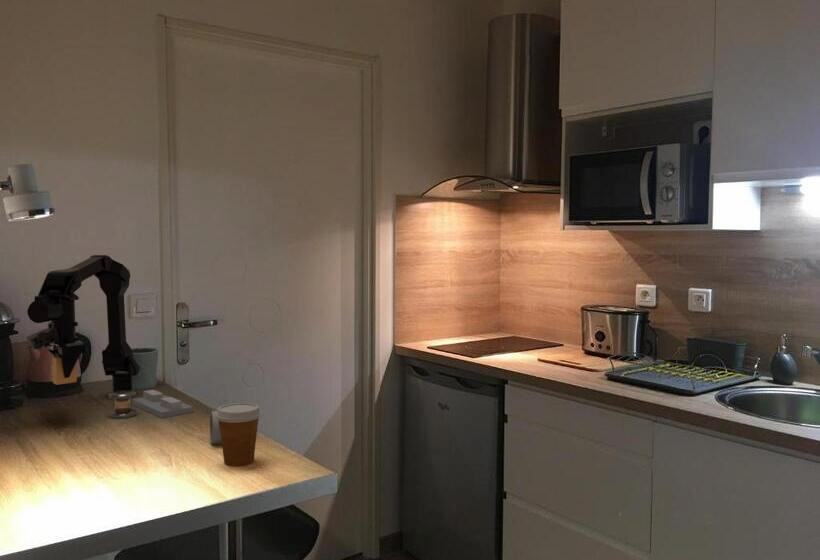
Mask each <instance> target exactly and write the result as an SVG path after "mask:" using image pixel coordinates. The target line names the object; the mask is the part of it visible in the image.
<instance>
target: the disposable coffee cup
mask: <svg viewBox="0 0 820 560" xmlns="http://www.w3.org/2000/svg"><path fill="white" fill-rule="evenodd" d="M217 411H218V412H217V413H216V417H217V419H218V421H219V429H220V435H221V443H220V444H221V448H222V454H223V455H222V456H223V462H224V465H226V466H231V467H242V466H247V465H250V464H252V463H254V461H255V460H254V459H255V451H256V443H257V435H258V426H259V419H260V415H261V413H262V412H261V410H260V408H259V405H257V404H256V403H250V402H249V403H248V402H236V403H235V402H234V403H228V404H227V403H226V404H224V405H221V406H219V407H218V408H217Z"/></svg>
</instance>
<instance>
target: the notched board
mask: <svg viewBox="0 0 820 560" xmlns="http://www.w3.org/2000/svg"><path fill="white" fill-rule="evenodd" d="M142 395H143V397H138V398H133V399H132V401H131V402H132V404H131V405H133V406H134V407H137V408H139V409H141V410H144V411H146V412H149V413H150V414H152V415H154V416H157V417H159V418H161V419H163V418H168V417H174V416H179V415H185V414H190V413H194V407H193V406H192V405H189V404H186V403H184V402H183V401H182V400H180V399H178V398H175V397H172V396H167V395H165V394H164V393H163V392H161V391H157V390H156V389H148V390H143V391H142Z"/></svg>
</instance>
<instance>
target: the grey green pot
mask: <svg viewBox="0 0 820 560" xmlns="http://www.w3.org/2000/svg"><path fill="white" fill-rule="evenodd" d="M131 349H132V352H133V358H134V359H135V361H136V362H137V364H138V365H139V367H140V369H139V374H138V375H135V376H132V385H133V390H147V389H148V390H150V389H153V388H156V387H157V380H158V379H157V377H158V376H157V371H158V363H159V361H158V359H159V358H158V357H159V349H158V348H157V347H134V348H132V347H131Z"/></svg>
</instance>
